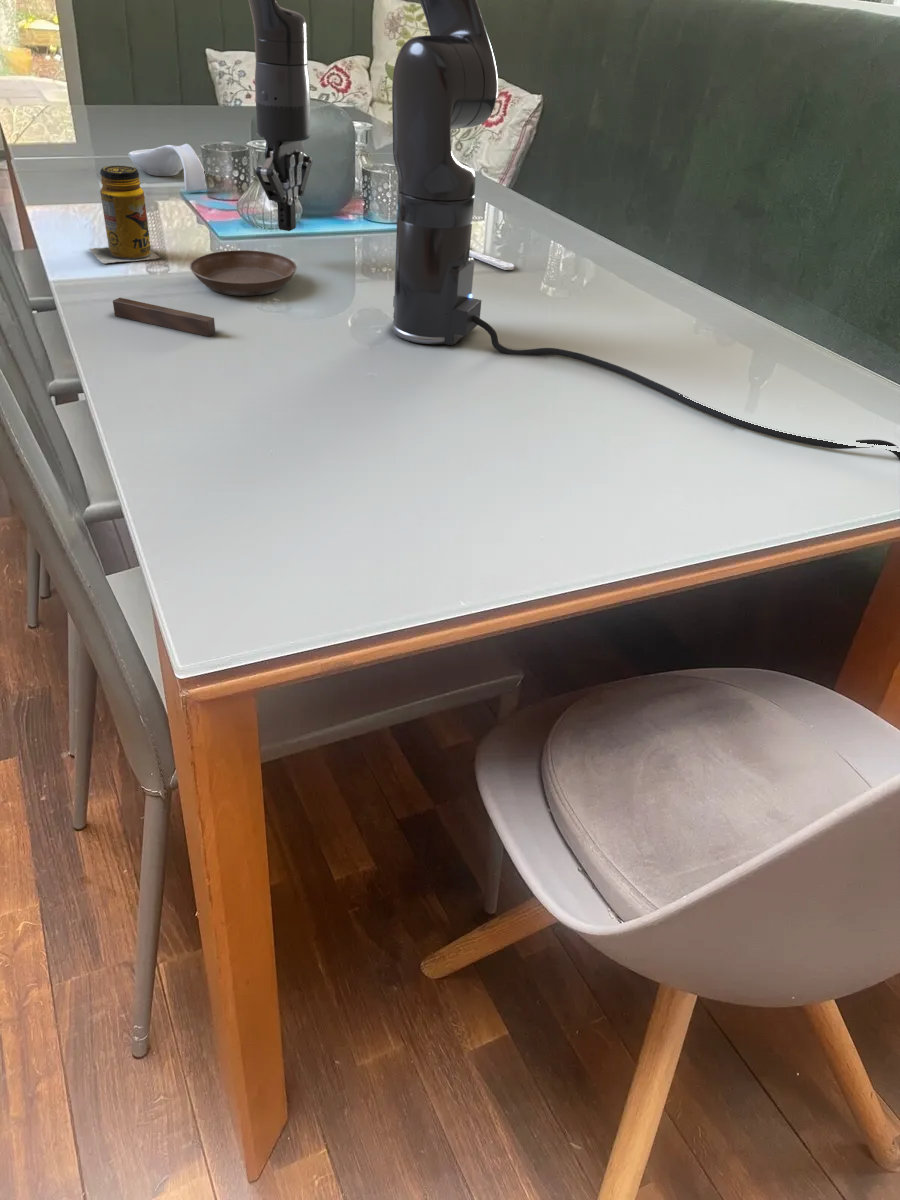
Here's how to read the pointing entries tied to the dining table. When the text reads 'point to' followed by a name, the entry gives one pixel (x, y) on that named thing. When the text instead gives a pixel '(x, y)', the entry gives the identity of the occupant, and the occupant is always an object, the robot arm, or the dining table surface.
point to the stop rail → (164, 317)
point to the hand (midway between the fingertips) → (287, 229)
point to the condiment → (124, 217)
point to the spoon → (492, 260)
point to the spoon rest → (172, 164)
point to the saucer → (243, 272)
